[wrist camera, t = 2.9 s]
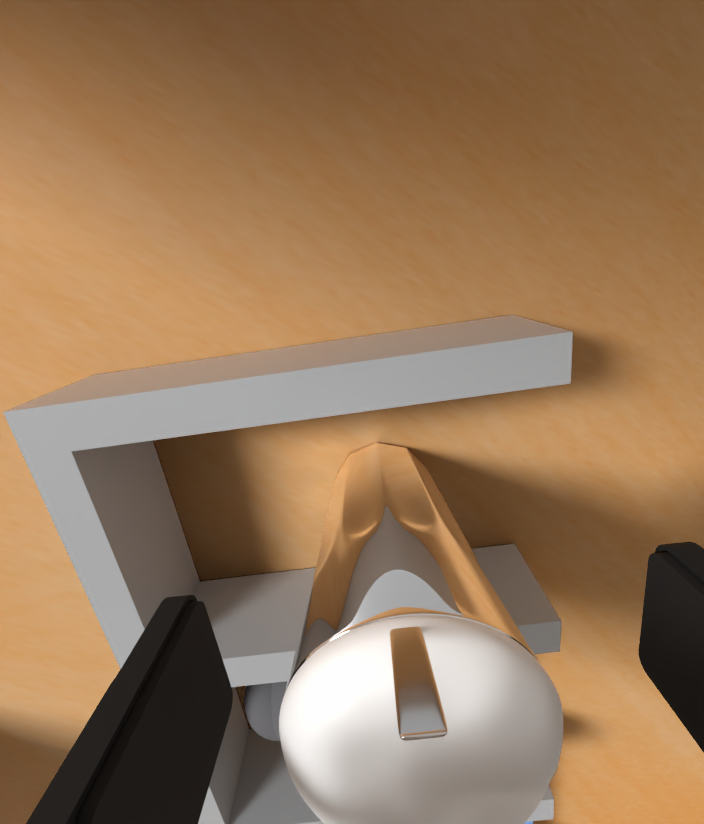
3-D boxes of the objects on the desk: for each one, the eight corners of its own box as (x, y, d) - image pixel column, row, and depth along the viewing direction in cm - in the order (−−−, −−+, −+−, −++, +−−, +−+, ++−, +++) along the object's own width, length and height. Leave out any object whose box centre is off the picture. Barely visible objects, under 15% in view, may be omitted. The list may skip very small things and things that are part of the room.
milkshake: (441, 391, 13) (678, 711, 4) (450, 530, 15) (624, 987, 5) (302, 409, 13) (185, 759, 4) (327, 545, 15) (289, 1010, 6)
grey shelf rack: (92, 375, 13) (3, 412, 9) (512, 314, 12) (572, 331, 9) (267, 852, 22) (253, 958, 18) (517, 829, 21) (548, 934, 18)
